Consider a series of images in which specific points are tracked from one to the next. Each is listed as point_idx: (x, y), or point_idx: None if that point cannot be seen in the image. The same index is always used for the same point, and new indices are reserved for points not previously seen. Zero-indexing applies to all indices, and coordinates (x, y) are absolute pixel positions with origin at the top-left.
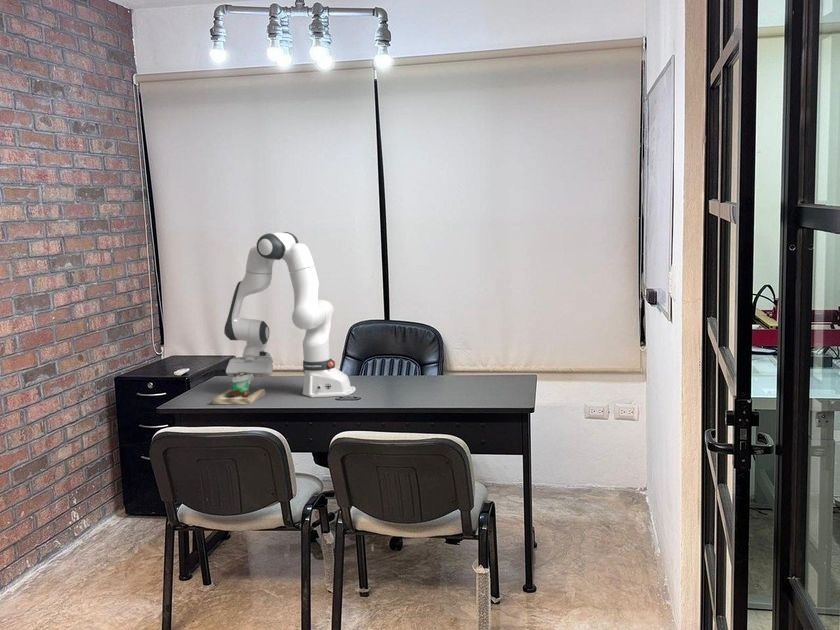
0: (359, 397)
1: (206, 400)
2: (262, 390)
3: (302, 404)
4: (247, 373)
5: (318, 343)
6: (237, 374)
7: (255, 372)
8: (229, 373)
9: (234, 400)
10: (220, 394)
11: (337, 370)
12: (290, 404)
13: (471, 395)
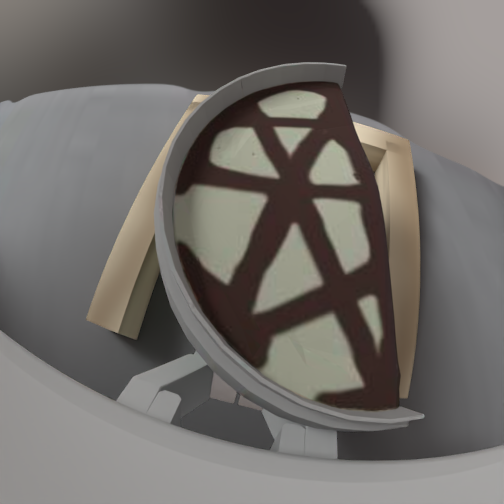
0: None
1: (470, 268)
2: (102, 276)
3: (30, 119)
4: (181, 276)
5: None
6: (393, 353)
7: (54, 368)
8: (499, 447)
9: None
10: (417, 227)
11: None
12: (55, 117)
13: None
